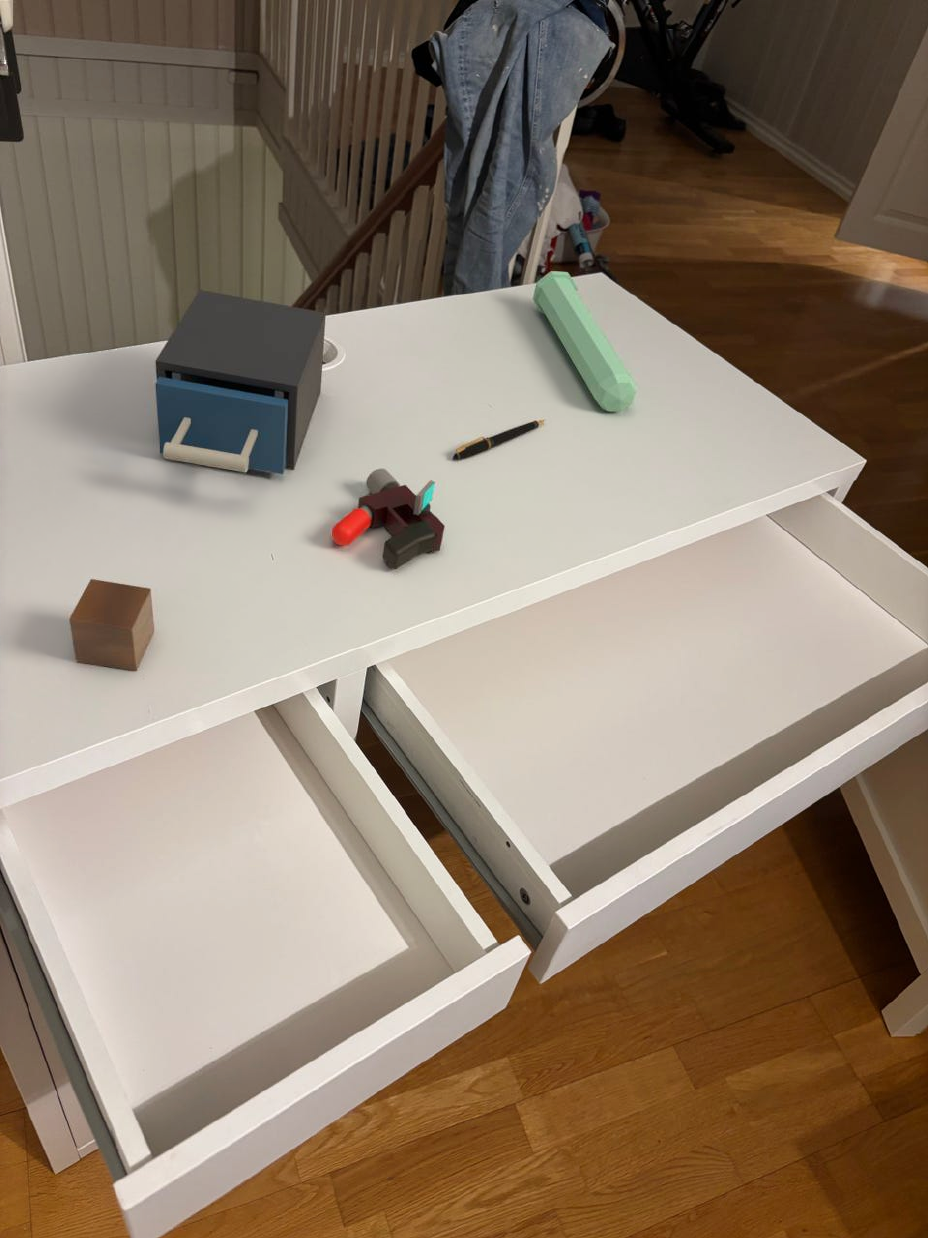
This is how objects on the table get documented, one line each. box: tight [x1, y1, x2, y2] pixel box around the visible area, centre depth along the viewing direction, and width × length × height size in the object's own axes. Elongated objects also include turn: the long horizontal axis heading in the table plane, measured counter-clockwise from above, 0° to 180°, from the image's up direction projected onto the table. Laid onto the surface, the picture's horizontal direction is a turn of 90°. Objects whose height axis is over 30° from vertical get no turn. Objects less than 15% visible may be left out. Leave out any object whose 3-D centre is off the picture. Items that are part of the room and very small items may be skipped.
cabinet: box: [154, 289, 327, 470], centre depth 92 cm, size 15×13×9 cm
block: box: [68, 578, 155, 672], centre depth 69 cm, size 4×4×4 cm
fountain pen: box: [452, 419, 546, 461], centre depth 99 cm, size 14×1×2 cm, turn 134°
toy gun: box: [330, 468, 445, 570], centre depth 84 cm, size 10×12×5 cm
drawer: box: [154, 371, 289, 475], centre depth 87 cm, size 19×11×7 cm, turn 176°
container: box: [532, 270, 638, 412], centre depth 113 cm, size 6×6×25 cm
